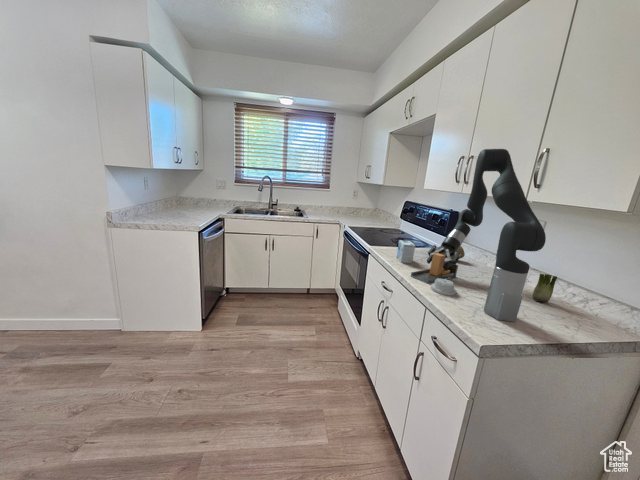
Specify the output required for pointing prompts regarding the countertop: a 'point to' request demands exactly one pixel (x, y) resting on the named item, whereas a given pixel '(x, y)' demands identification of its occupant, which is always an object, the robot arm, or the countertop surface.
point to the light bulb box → (405, 251)
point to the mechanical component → (443, 287)
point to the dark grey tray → (429, 276)
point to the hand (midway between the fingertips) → (435, 265)
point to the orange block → (438, 265)
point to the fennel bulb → (544, 288)
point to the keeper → (451, 268)
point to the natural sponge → (460, 253)
